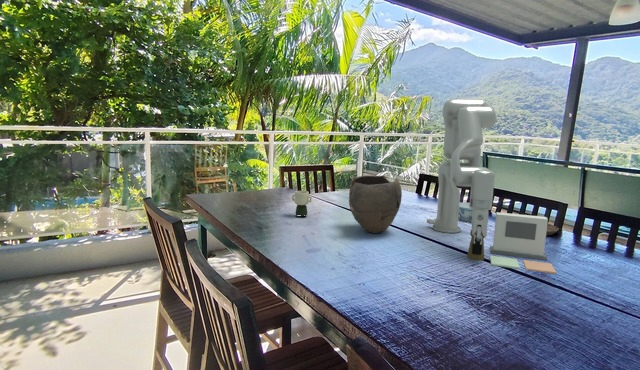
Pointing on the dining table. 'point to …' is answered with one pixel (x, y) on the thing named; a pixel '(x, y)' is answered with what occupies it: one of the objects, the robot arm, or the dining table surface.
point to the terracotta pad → (539, 266)
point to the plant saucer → (551, 229)
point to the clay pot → (374, 202)
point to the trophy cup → (301, 202)
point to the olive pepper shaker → (470, 255)
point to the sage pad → (504, 262)
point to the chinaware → (465, 211)
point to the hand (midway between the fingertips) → (476, 251)
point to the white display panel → (520, 235)
